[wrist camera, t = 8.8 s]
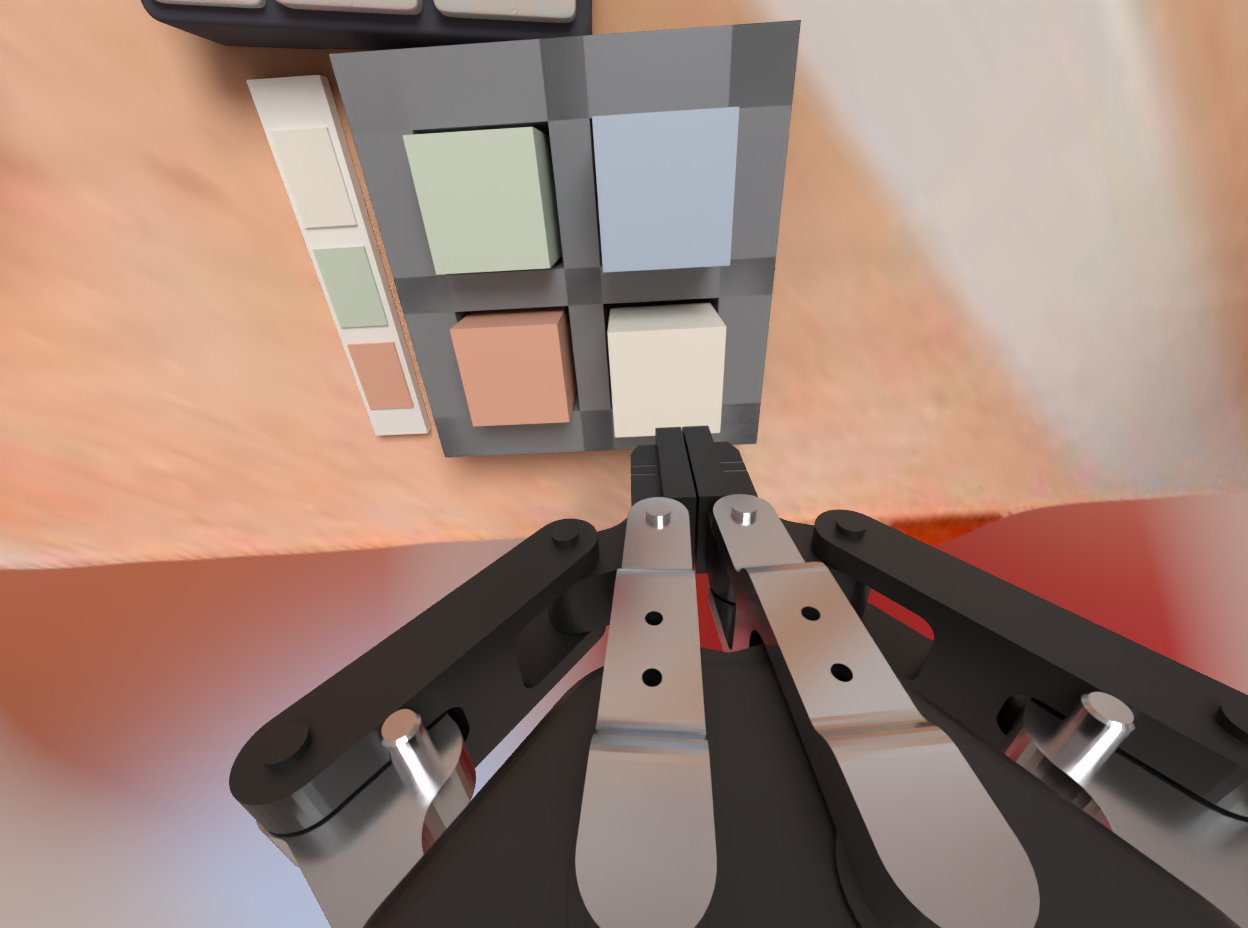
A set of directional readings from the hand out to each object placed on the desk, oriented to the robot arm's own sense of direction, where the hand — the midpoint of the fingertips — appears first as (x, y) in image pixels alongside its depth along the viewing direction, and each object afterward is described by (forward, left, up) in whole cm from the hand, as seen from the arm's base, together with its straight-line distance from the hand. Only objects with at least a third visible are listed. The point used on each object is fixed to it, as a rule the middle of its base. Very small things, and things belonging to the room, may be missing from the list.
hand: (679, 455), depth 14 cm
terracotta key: (+6, 0, -11) cm, 13 cm away
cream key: (0, 0, -10) cm, 10 cm away
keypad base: (+3, -3, -13) cm, 13 cm away
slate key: (0, -6, -10) cm, 12 cm away
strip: (+15, -3, -13) cm, 20 cm away
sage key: (+6, -6, -11) cm, 15 cm away
